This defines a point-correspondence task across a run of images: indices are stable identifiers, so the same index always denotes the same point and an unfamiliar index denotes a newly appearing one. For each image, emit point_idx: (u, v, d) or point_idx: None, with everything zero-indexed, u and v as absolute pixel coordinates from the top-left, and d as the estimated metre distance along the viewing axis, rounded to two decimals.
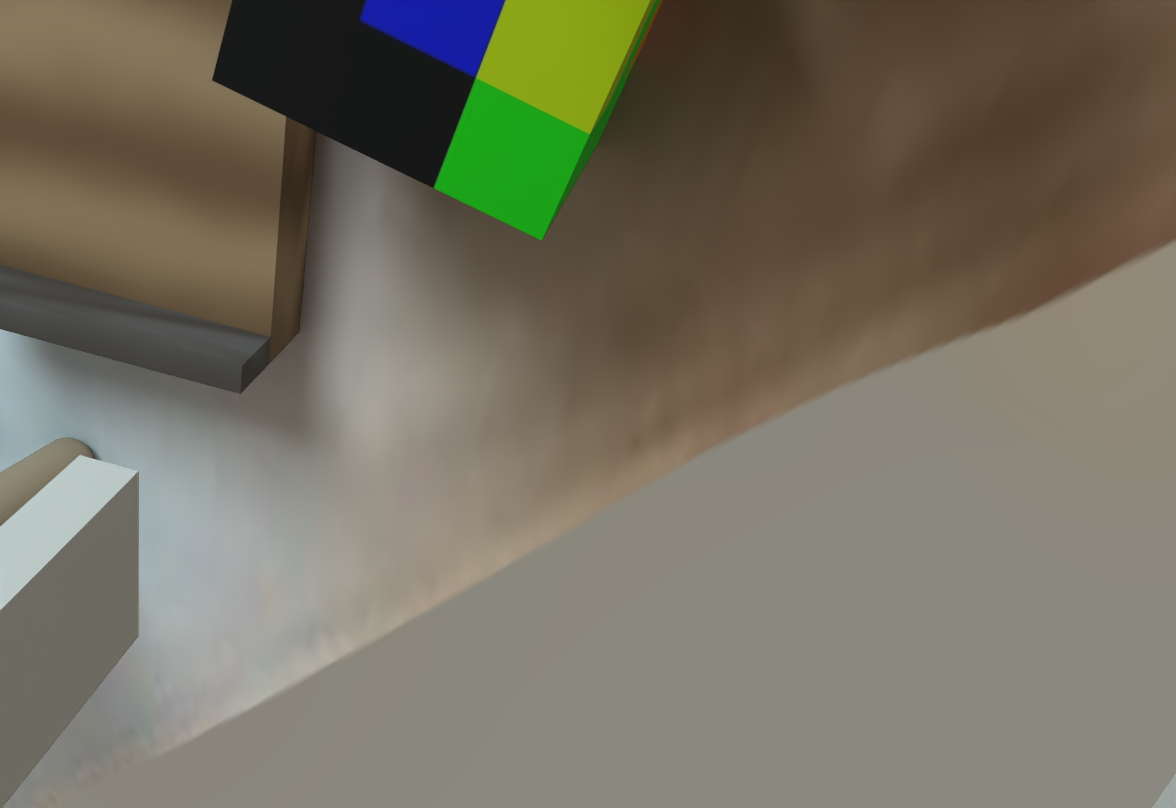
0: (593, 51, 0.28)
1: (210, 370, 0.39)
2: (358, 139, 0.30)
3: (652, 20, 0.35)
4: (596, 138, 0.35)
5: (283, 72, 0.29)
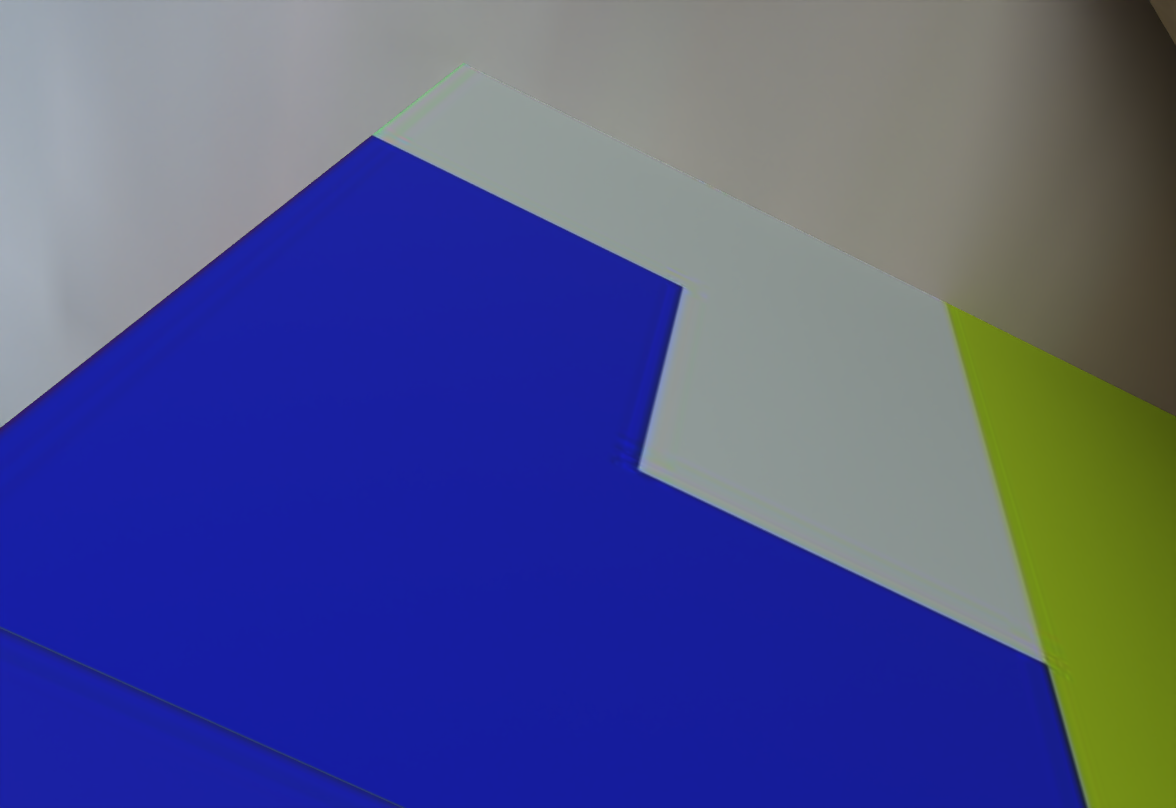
0: None
1: None
2: None
3: None
4: None
5: None
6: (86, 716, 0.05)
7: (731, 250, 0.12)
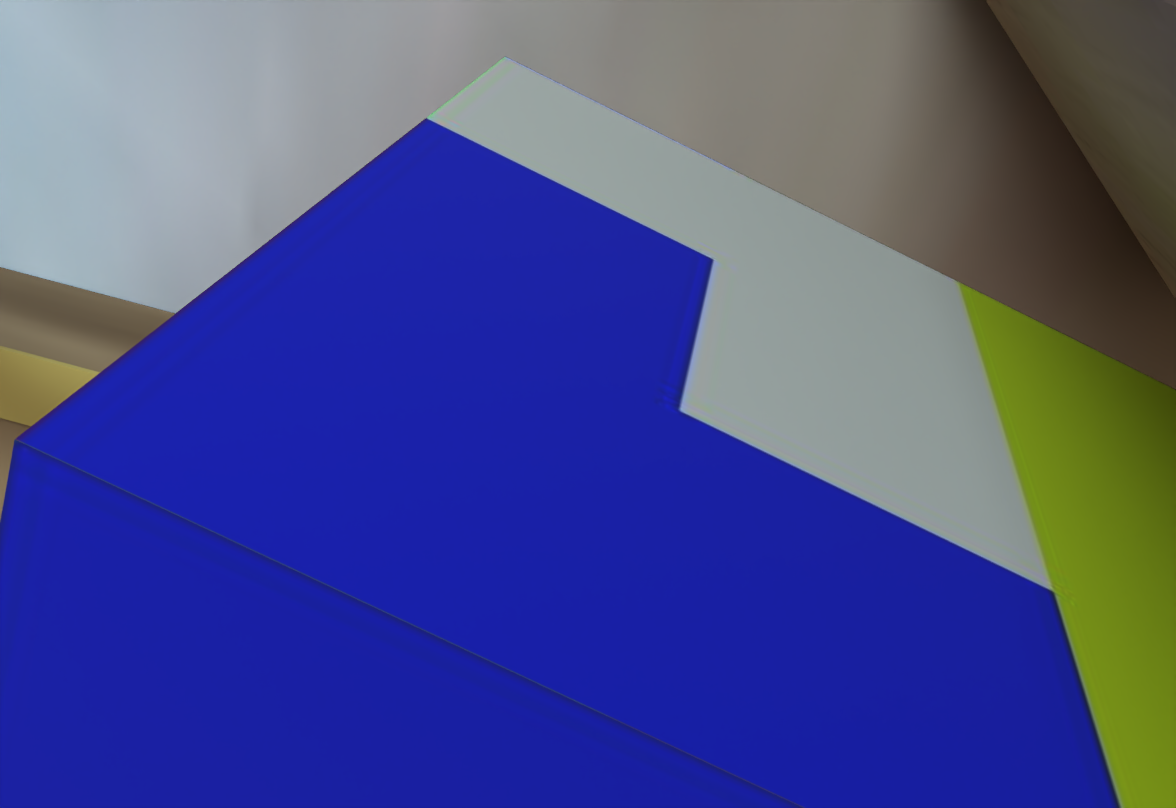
0: None
1: None
2: None
3: None
4: None
5: None
6: (218, 581, 0.06)
7: (756, 230, 0.13)
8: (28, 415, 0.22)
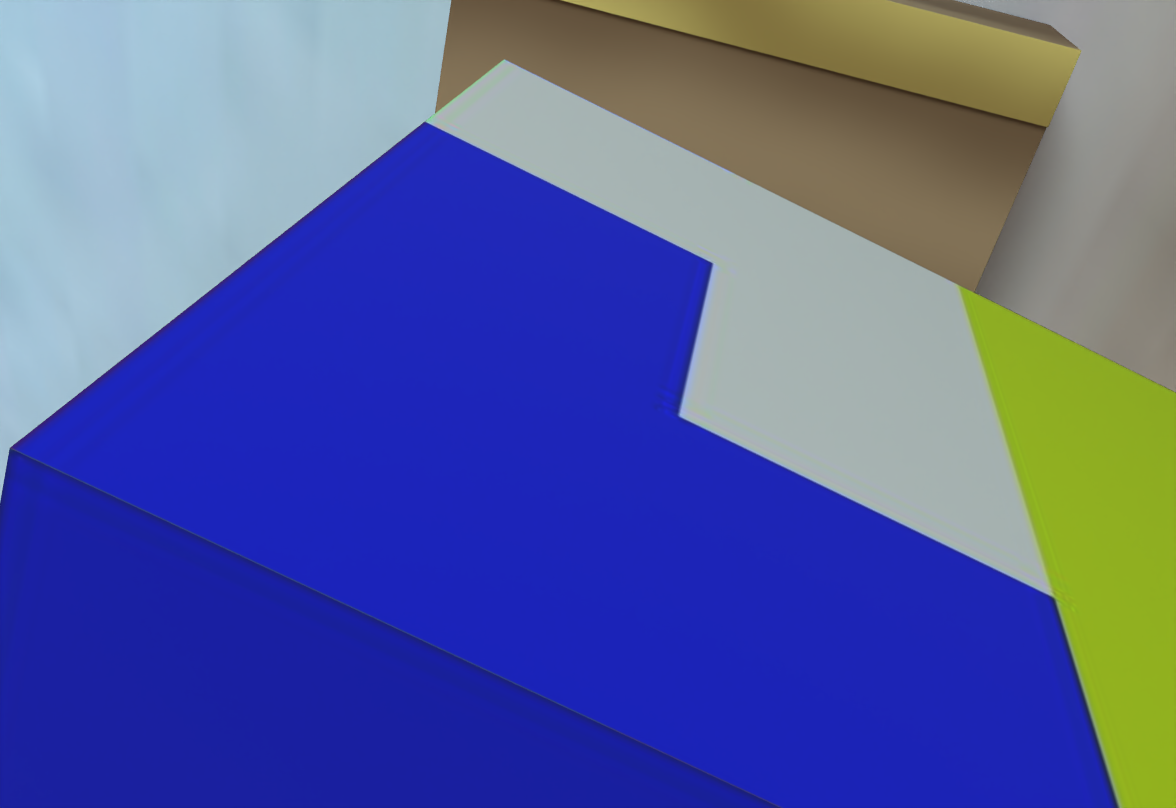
0: None
1: None
2: None
3: None
4: None
5: None
6: (216, 594, 0.06)
7: (757, 233, 0.13)
8: (784, 46, 0.23)
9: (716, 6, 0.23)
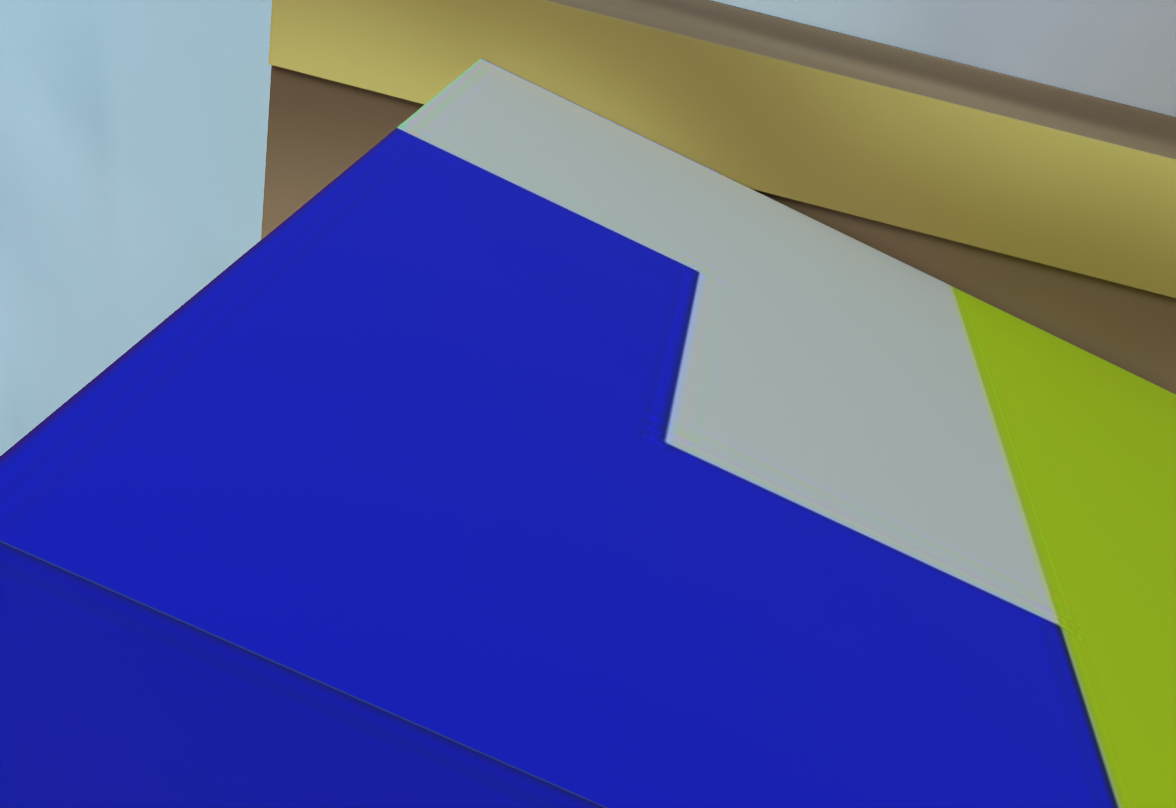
0: None
1: None
2: None
3: None
4: None
5: None
6: (164, 662, 0.05)
7: (744, 237, 0.12)
8: (817, 186, 0.14)
9: (701, 121, 0.13)
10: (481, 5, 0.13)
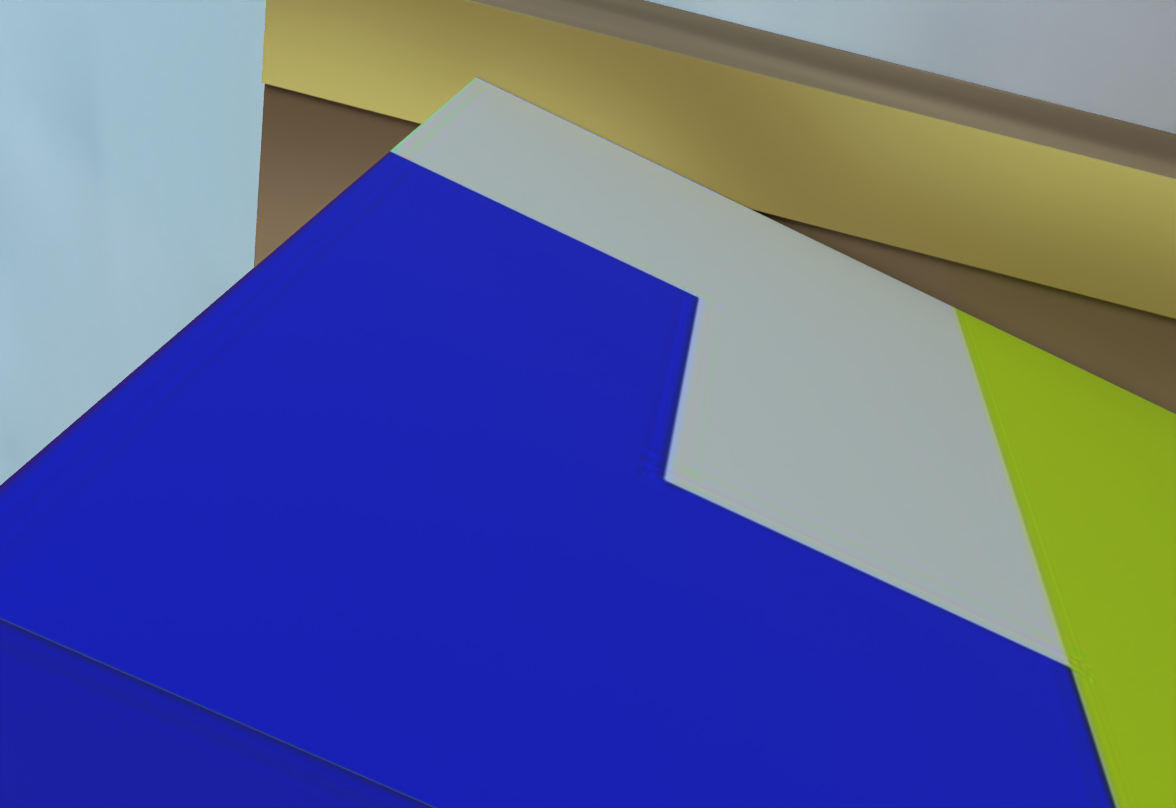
0: None
1: None
2: None
3: None
4: None
5: None
6: (142, 729, 0.05)
7: (743, 260, 0.12)
8: (818, 207, 0.13)
9: (701, 141, 0.13)
10: (476, 24, 0.13)
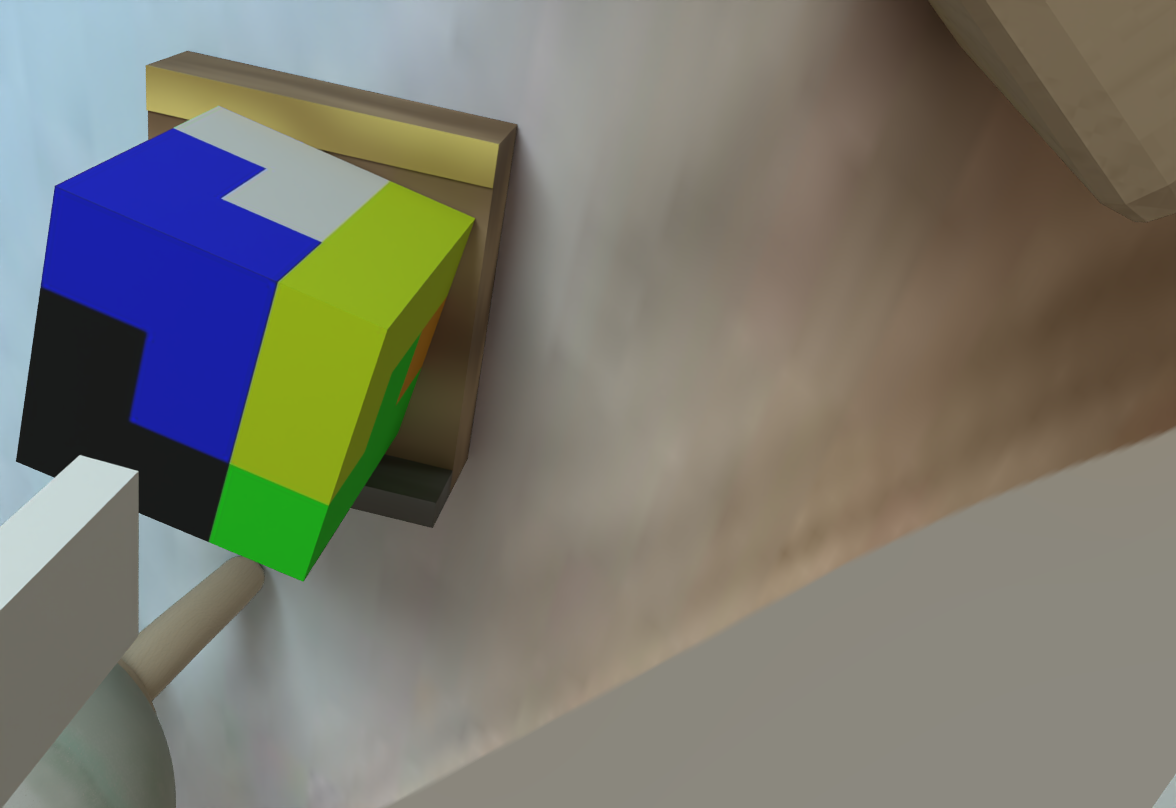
0: (321, 447, 0.33)
1: (405, 507, 0.43)
2: (141, 505, 0.35)
3: (421, 349, 0.40)
4: (377, 452, 0.40)
5: (73, 457, 0.35)
6: (93, 213, 0.30)
7: (296, 161, 0.37)
8: (337, 146, 0.39)
9: (295, 125, 0.39)
10: (216, 87, 0.39)
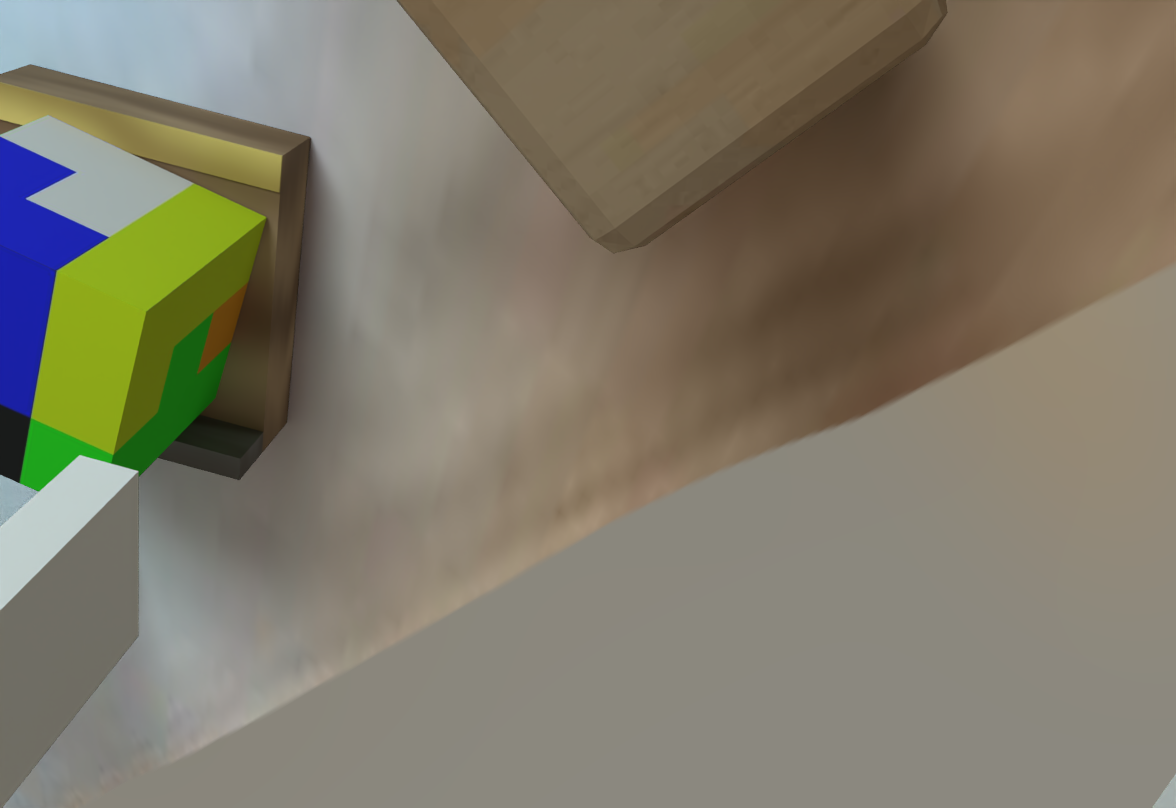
0: (102, 406, 0.40)
1: (215, 461, 0.50)
2: None
3: (222, 327, 0.47)
4: (183, 413, 0.47)
5: None
6: None
7: (107, 166, 0.44)
8: (149, 153, 0.46)
9: (112, 133, 0.46)
10: (45, 99, 0.45)
